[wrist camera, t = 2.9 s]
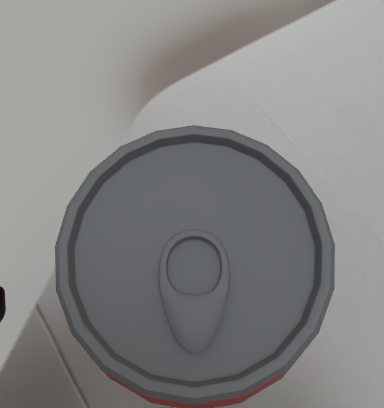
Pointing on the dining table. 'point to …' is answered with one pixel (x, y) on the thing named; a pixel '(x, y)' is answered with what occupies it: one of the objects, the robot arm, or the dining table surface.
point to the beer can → (195, 266)
